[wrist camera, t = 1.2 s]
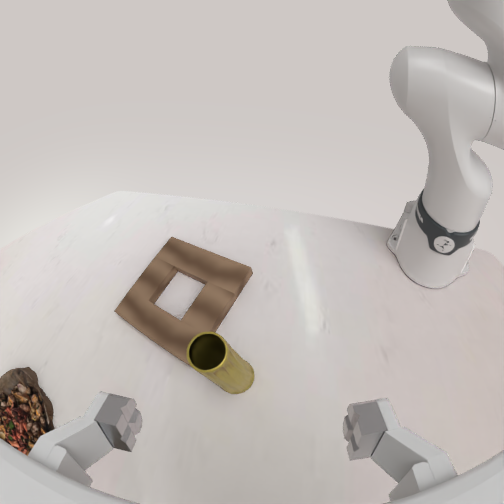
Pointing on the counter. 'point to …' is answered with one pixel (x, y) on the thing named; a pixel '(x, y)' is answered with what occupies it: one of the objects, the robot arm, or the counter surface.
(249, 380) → the vase
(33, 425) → the food dish
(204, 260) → the socket
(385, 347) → the counter surface
